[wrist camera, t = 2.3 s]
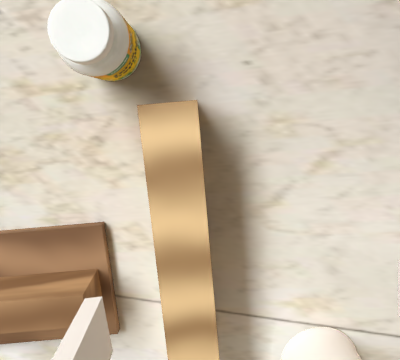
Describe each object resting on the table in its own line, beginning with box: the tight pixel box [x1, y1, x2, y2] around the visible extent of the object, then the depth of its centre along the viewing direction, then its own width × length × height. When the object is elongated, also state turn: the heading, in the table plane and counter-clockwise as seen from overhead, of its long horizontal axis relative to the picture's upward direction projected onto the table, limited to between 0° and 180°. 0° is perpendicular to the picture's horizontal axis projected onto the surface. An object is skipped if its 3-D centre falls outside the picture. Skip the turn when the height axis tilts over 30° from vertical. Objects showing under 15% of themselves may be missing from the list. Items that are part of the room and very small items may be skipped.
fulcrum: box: [0, 222, 120, 344], centre depth 33 cm, size 12×14×6 cm
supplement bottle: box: [48, 0, 141, 81], centre depth 27 cm, size 5×5×10 cm
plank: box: [137, 100, 219, 360], centre depth 32 cm, size 26×4×7 cm, turn 5°
